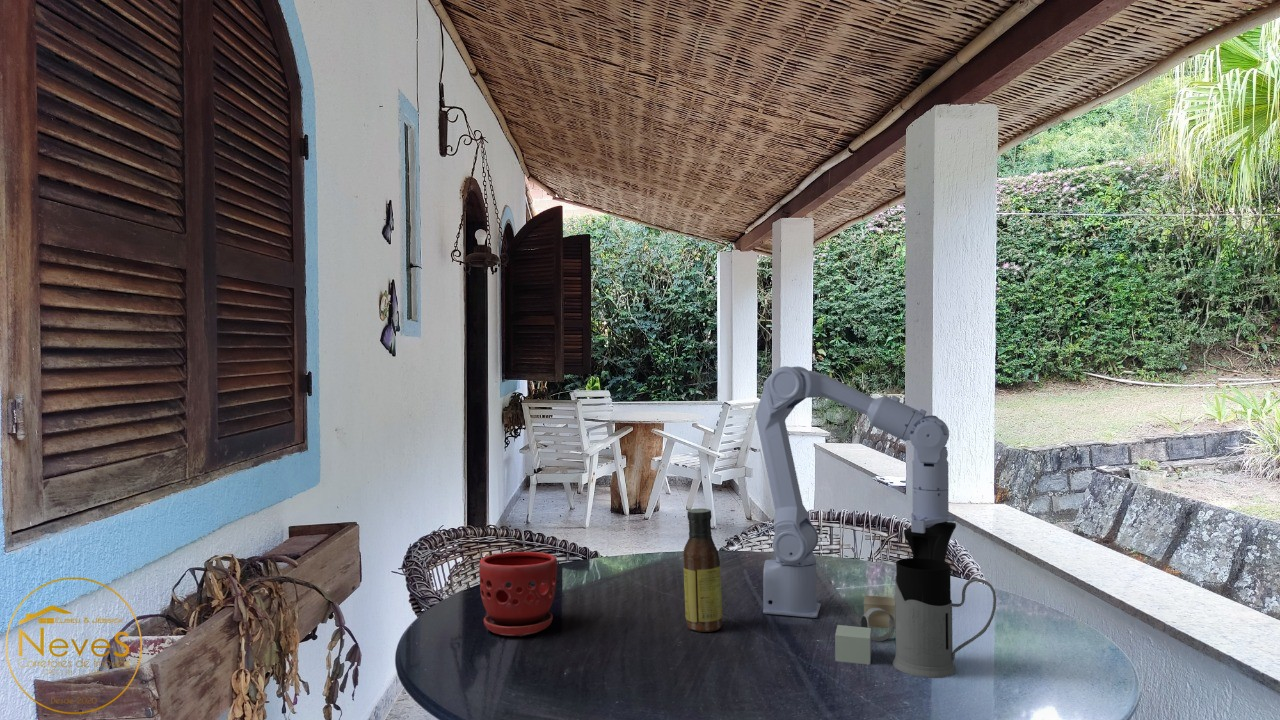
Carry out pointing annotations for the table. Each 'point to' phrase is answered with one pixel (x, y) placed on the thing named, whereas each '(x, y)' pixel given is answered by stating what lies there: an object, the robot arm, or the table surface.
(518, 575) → the plant pot
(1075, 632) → the table surface
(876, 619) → the birch block
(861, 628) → the sage block
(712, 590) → the sauce bottle
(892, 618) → the wristwatch
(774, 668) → the table surface
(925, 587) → the glass holder
